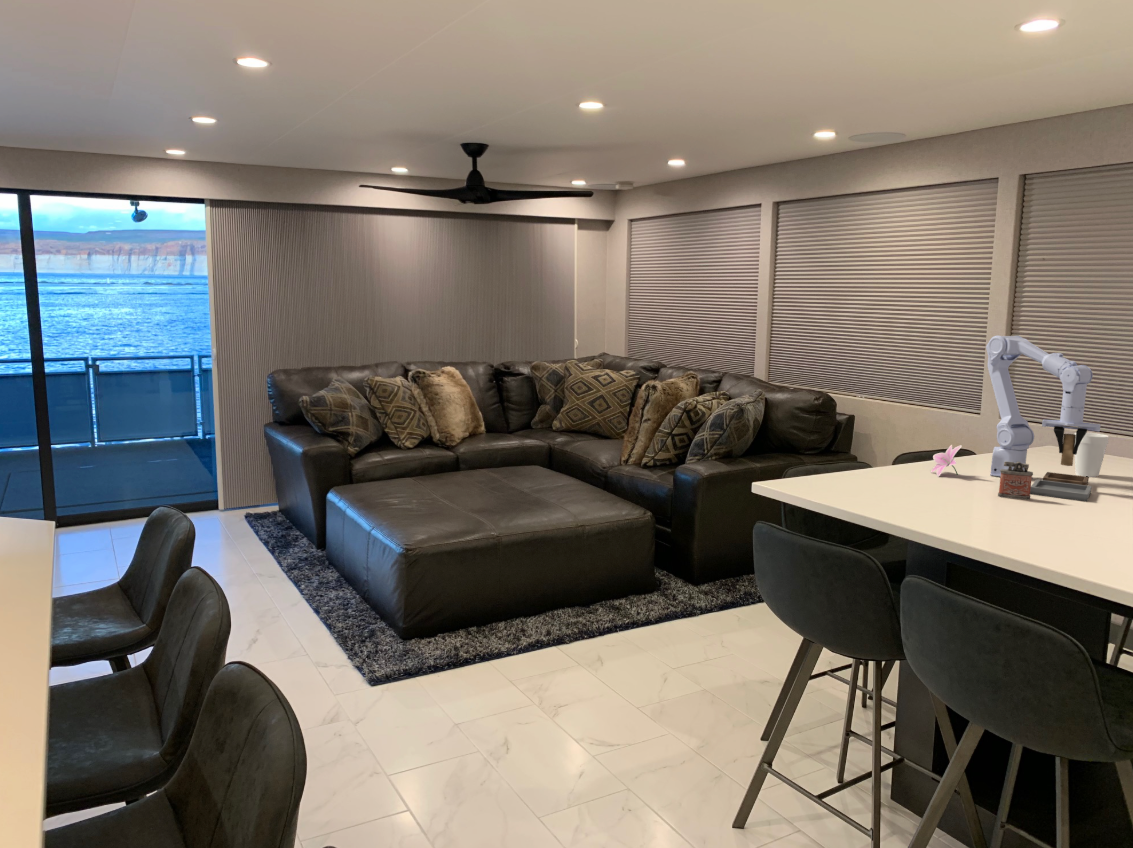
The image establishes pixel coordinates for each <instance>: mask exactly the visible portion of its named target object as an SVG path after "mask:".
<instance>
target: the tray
mask: <svg viewBox="0 0 1133 848" xmlns="http://www.w3.org/2000/svg"><path fill="white" fill-rule="evenodd" d="M1091 494H1092V485H1088V486H1086V485H1078V484H1070V483H1062V482H1054V481H1046V480H1043V479H1037V478H1036V479H1035V480H1034V482H1033V483H1032V484H1031V489H1030V495H1034V496H1042V497H1050V498H1058V499H1064V500H1065V499H1066V500H1073V501H1080V502H1086V503H1087V502H1088V501H1089V499H1090V496H1091Z"/></svg>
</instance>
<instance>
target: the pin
mask: <svg viewBox="0 0 1133 848" xmlns="http://www.w3.org/2000/svg"><path fill="white" fill-rule="evenodd" d="M1075 439H1076V435H1075V433H1064V436H1063V448H1062V453H1061V458H1060V465H1062V466H1067V467H1072V466H1073V465H1074V458H1075V455H1074V454H1073V453H1074V447H1075Z"/></svg>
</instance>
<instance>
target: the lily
mask: <svg viewBox="0 0 1133 848" xmlns="http://www.w3.org/2000/svg"><path fill="white" fill-rule="evenodd" d="M962 447H963V445H961V444H959V445H958V446H955V447H954V448H953V444H951V445H949V447H948V448H947V449H946V451H945V452H939V453H935V454H933V456H932V458H933V459H932V460H933V461H934V463H936V464H935V465H934V466H933V468H932V469H931V470H930V473H931V474H932V473H933V472H936V477H937V478H939V477H940V475H941V474H942V473H943V471H944V470H945V468H946V467H949V466H951V467H952V468H953V470H954V471H955V473H956V475H957V476H958V475H959V474H958V472H957V469H956V468H955V466H956V465H957V461H956V459H955V458H954V457H955V455H956V454H957V452H958V451H959V450H960V449H961V448H962Z"/></svg>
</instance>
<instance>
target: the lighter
mask: <svg viewBox="0 0 1133 848" xmlns="http://www.w3.org/2000/svg"><path fill="white" fill-rule="evenodd" d="M1004 466H1008V467H1009V468H1008V469H1001V470H1000V472H1001V477H1000V476H999V477H1000V479H999V489H998V492H997V497H999V498H1005V499H1006V498H1007V499H1014V500H1016V499H1017V500H1028V501H1029V500H1031V494H1030V489H1031V486H1032V479H1033V475H1034V472H1033V471H1029V467H1030V464H1029V463H1026V464H1022V463H1021V462H1016V463H1014V462H1006V461H1005V462H1004ZM1011 467H1014V468H1013V470H1012V468H1011ZM1023 468H1024V469H1025V471H1024V470H1023Z"/></svg>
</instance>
